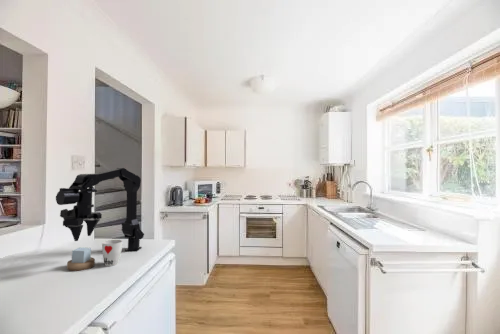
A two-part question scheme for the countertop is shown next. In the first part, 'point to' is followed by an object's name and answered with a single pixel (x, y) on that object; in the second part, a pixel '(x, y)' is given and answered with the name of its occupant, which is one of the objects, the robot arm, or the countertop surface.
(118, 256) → the cup
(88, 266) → the brown shallow bowl
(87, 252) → the block
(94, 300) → the countertop surface
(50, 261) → the countertop surface
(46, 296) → the countertop surface
